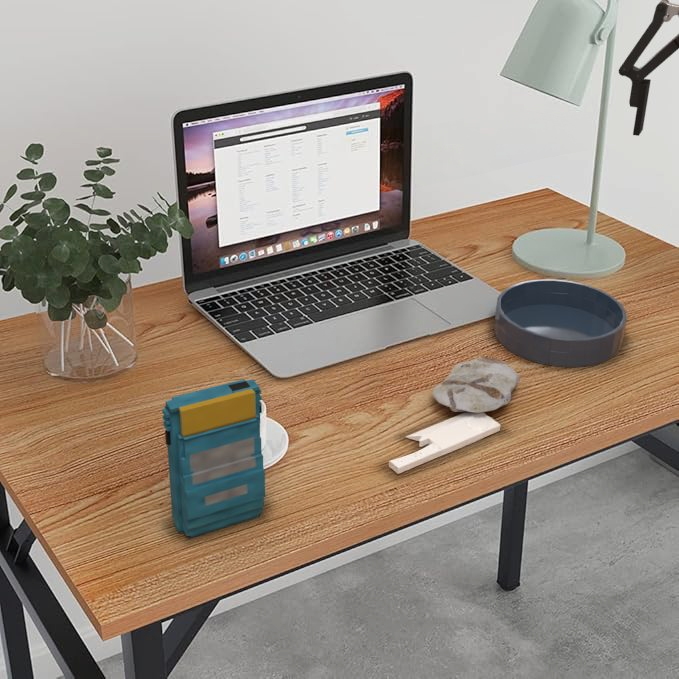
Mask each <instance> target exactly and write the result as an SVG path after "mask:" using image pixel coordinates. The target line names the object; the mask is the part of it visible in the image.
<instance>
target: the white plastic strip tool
mask: <svg viewBox="0 0 679 679" xmlns="http://www.w3.org/2000/svg"><path fill="white" fill-rule="evenodd" d="M501 426H502V425H501V424H500V423H499V421H497V420H495V419H494V417H491V416H489V415H487V414H486V413H485V412H481V413H475V412H468V411H464V412H462V413H460V414H458V415H456V416H453V417H450V418H448V419H446V420H442V421H441V422H438V423H435V424H434V425H431V426H428V427H426V428H423V429H420V430H418V431H416V432H413V433H412V434H408V435H406V436H405V438H406V439H410V440H413V441H416V442H418V447H419V448H421V449H419V450H416V451H414V452H412V453H409V454H407V455H403V456H400V457H397V458H394V459H391V460H388V467H389V468H390V469H391V470H392V471H393V472H395V473H396V474H397V475H399V474H402V473H404V472H407V471H409V470H411V469H413V468H415V467H418V466H421V465H422V464H425V463H428V462H430V461H432V460H435V459H437V458H439V457H442V456H444V455H447V454H449V453H452V452H454V451H456V450H457V451H458V450H459V449H462V448H464V447H466V446H469V445H471V444H473V443H476V442H479V441H481V440H483V439H484V438H486V437H488V436H490V435H493V434H495V433H498V432H501ZM424 446H425V447H424ZM422 447H423V448H422Z"/></svg>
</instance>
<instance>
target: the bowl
mask: <svg viewBox="0 0 679 679" xmlns="http://www.w3.org/2000/svg"><path fill="white" fill-rule="evenodd" d="M627 319H628V317H627V310H626V309H625V307H624V306H623V304H622V302H620V301H619V300H618V299H616V298H615V297H614V296H613V295H611V294H609V293H607V292H605V291H603V290H602V289H599V288H597V287H594V286H591V285H589V284H585V283H582V282H577V281H572V280H564V279H554V278H548V279H546V278H544V279H543V278H542V279H541V278H540V279H531V280H524V281H522V282H518V283H515V284H512V285H510V286H508V287H506V288H505V289H504V290H502V291H501V292H500V294H499V295H498V296H497V298H496V307H495V317H494V323H493V324H494V325H493V330H494V331H493V332H494V336H495V337H496V340H498V342H499V343H500V344H501V345H502V346H503V347H504V348H505V349H507V350H508V351H509V352H511V353H513V354H515V355H516V356H518V357H520V358H523V359H524V360H527V361H531V362H534V363H536V364H540V365H546V366H552V367H560V368H583V367H591V366H595V365H599V364H602V363H605V362H607V361H609V360H611V359H612V358H614V357H615V356H616V355H617V354H618V353H619V352H620V350H621V348H622V345H623V343H624V338H625V332H626V327H627V322H628V320H627Z"/></svg>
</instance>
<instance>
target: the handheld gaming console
mask: <svg viewBox="0 0 679 679" xmlns="http://www.w3.org/2000/svg"><path fill="white" fill-rule="evenodd" d="M261 394H262V389H261V388H260V386H259V384H258V383H257V382H256V381H255V380H254V378H252V379H248V380H246V379H244V378H243V379H240V380H236V381H235V380H234V381H231V382H227V383H223V384H219V385H215V386H212V387H208V388H204V389H200V390H196V391H192V392H188V393H184V394H180V395H176V396H173V397H171V399H169V400H165V402H164V403H165V405H164V408H161V412H162V414H163V415H162V420H163V422H162V426H163V427H164V429H165V430H164V436H165V438H164V439H165V444H166V446H167V460H168V461H167V462H168V473H169V489H170V490H169V491H170V501H171V502H170V503H171V518H172V519H173V525H174V528H175V529H176V531H177V532H178V535H179V534H184V535H185V536H186V537H189V538H190V539H192V538H195V537H198V536H203V535H205V534H208V533H212V532H215V531H218V530H221V529H225V528H227V527H231V526H234V525H237V524H240V523H243V522H247V521H251V520H253V519H256V518H259V517H260V514H263V507H265V498H266V469H265V468H264V455H263V453H262V437H261V414H262V411H263V408H262V406H263V405H262V402H261V401H262V396H261Z"/></svg>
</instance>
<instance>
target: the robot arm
mask: <svg viewBox="0 0 679 679" xmlns="http://www.w3.org/2000/svg"><path fill="white" fill-rule="evenodd" d="M654 9H655V10H654V14H653V18H652V20H651V22H650V24H649V25H648V26H647V28H646V30H645V31H644V32H643V34H642V35H641V37H640V38H639V39H638V40H637V42H636V43H635V45H634V47H633V48H632V49H631V51H630V52H629V54H628V55H627V57H626V58H625V59H624V62H623V63H622V64H621V65H620V67H619V69H618V74H619V75H620V76H622V77H626V78H627V79H630V81H631V88H630V96H629V101H628V103H629V107H631V108H636V113H635V119H634V124H633V131H632V135H633V136H638V137H639V136H640V135H641V133H642V132H643V130H644V124H645V118H646V112H647V106H648V100H649V94H650V87H651V79H649V78H647V77H648V76H649V75H650V74H651V73H653V72H654V71H655V70H656V69H657V68H658V67H660V66H661V65H662V64H663V63H664V62H665V61H666V60H668V58H670V57H671V56H672V55H673V54H674V53H675V52H677V51H678V50H679V33H677V35H676V36H674V37H673V38H672V39H671V40H669V42H668V43H667V44H665V45H664V46H663V47H662V48H661V49H660V50H658V51H657V52H656V53H655V54H654V55H653V56H651V57H650V58H649V59H648V60H647V61H646V62H645V63H643V65H642V66H640V67H637V66H636V63H637V62H638V60H639V59H640V57H641V56H642V54H643V53H644V52H645V50H646V49H647V47H648V46H649V44H651V42H652V40H653V39H654V38H655V36H656V35H657V33H658V32H659V30H660V29H661V27H662V26H663V24H664V23H668V22H670V21H671V20H672V18H673V17H674V16H678V17H679V4H677V3H673V2H670V1H669V0H659V3H657V5H656V6H655V8H654Z"/></svg>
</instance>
